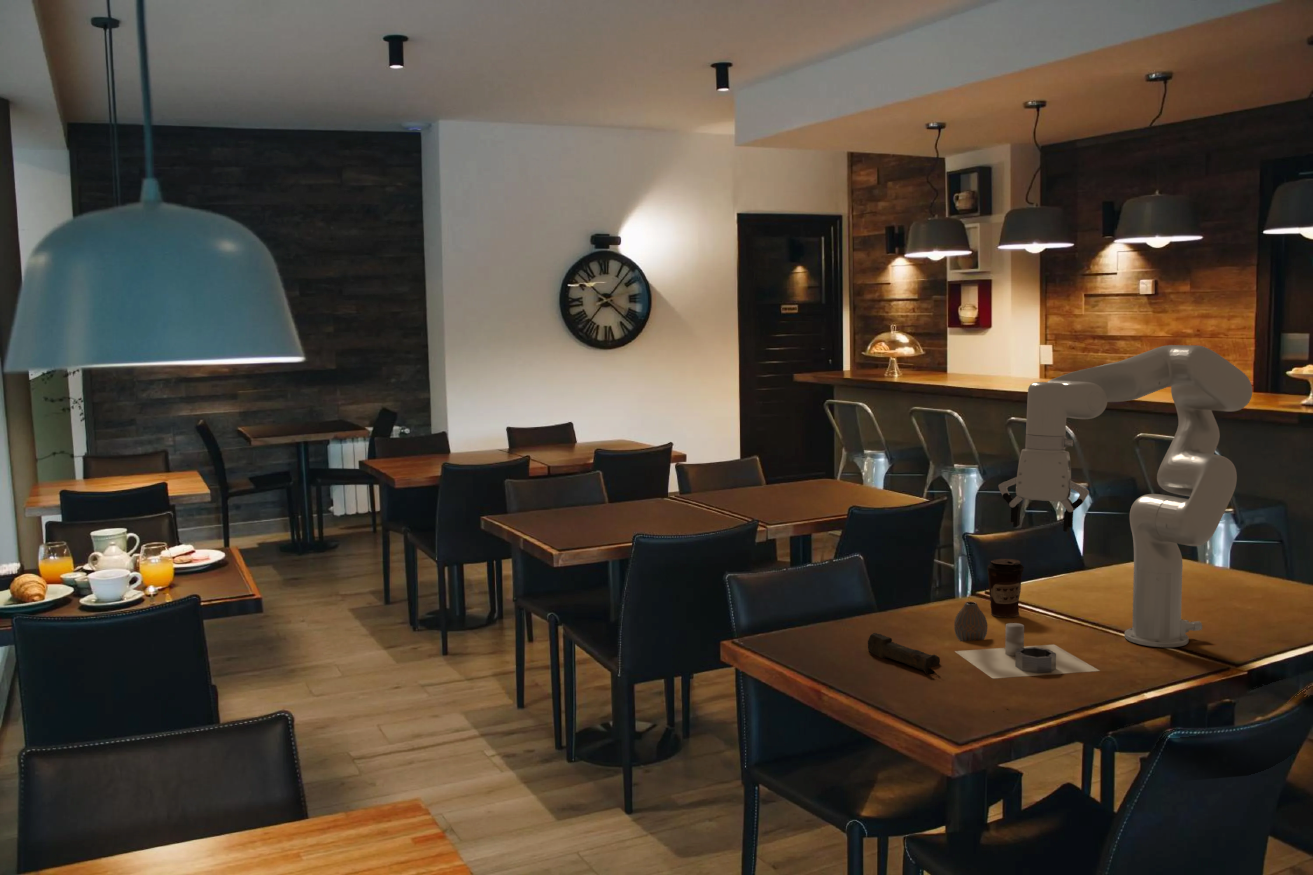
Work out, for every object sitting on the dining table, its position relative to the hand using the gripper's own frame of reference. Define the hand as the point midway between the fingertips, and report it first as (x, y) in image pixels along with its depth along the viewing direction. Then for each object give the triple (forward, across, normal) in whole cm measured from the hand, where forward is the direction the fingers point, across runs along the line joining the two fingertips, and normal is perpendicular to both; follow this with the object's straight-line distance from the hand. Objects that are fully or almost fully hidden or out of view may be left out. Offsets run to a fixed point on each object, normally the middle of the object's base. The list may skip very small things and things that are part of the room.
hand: (1041, 528), depth 223 cm
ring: (+26, -2, +8) cm, 28 cm away
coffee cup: (+27, +12, -35) cm, 46 cm away
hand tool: (+29, +25, +11) cm, 40 cm away
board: (+28, +1, +4) cm, 28 cm away
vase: (+28, +15, -9) cm, 33 cm away
